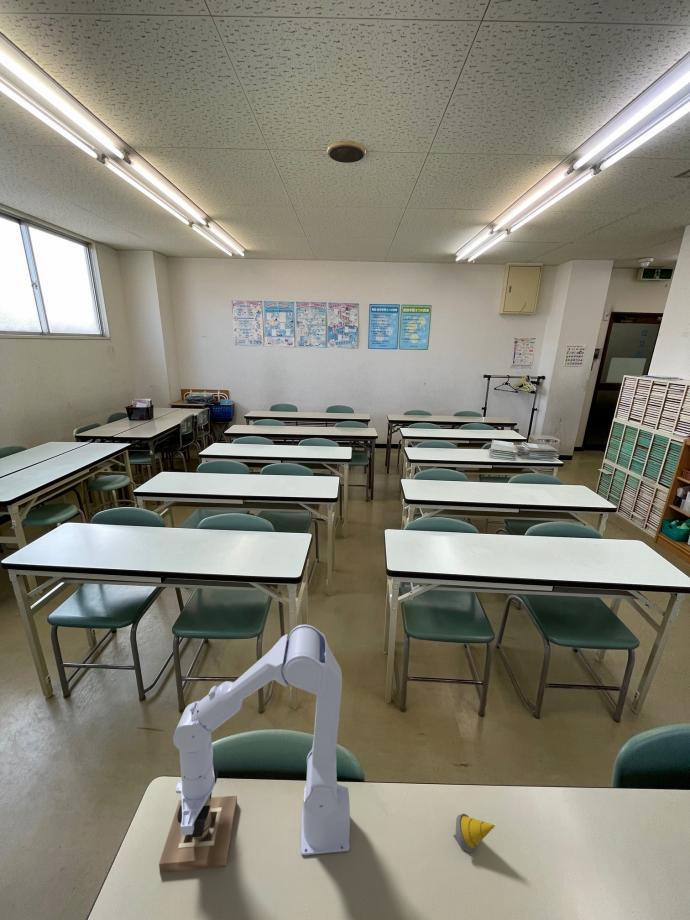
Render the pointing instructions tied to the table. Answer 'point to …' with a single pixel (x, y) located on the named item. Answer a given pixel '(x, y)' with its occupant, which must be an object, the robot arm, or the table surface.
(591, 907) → the table surface
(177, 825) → the board
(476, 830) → the yellow striped cone
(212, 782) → the robot arm
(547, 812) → the table surface
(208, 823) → the peg
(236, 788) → the table surface
